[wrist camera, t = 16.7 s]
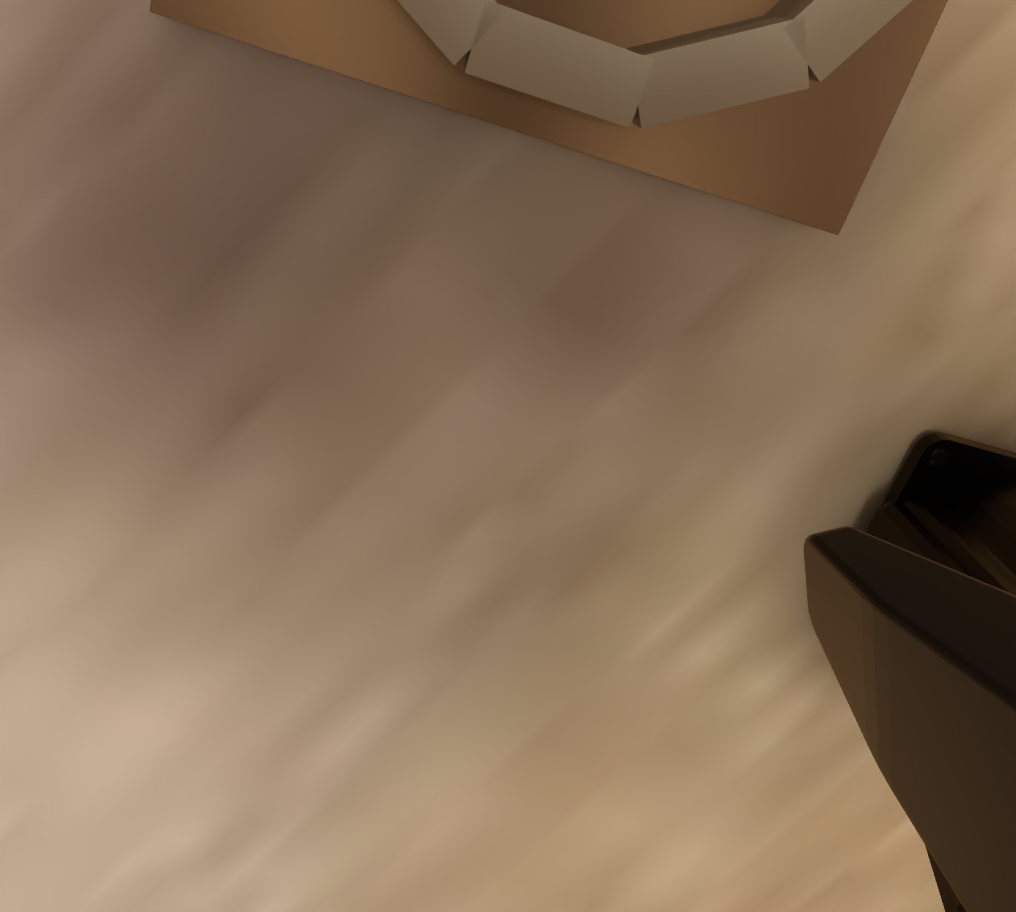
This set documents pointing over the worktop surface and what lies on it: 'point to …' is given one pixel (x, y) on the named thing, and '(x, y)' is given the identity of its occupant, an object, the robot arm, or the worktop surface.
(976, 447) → the robot arm
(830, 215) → the collar base
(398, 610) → the worktop surface
